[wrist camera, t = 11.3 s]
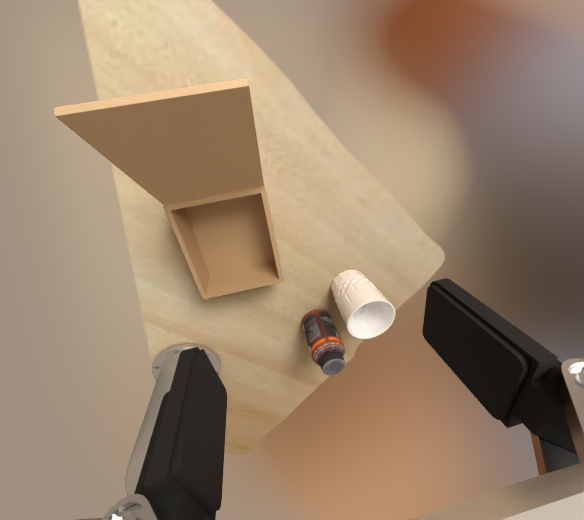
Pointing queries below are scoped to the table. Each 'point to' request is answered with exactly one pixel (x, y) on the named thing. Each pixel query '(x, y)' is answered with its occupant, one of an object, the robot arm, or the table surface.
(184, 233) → the carton
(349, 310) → the white cup
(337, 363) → the supplement bottle
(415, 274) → the table surface
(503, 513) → the robot arm
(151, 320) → the table surface
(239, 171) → the cardboard box lid
